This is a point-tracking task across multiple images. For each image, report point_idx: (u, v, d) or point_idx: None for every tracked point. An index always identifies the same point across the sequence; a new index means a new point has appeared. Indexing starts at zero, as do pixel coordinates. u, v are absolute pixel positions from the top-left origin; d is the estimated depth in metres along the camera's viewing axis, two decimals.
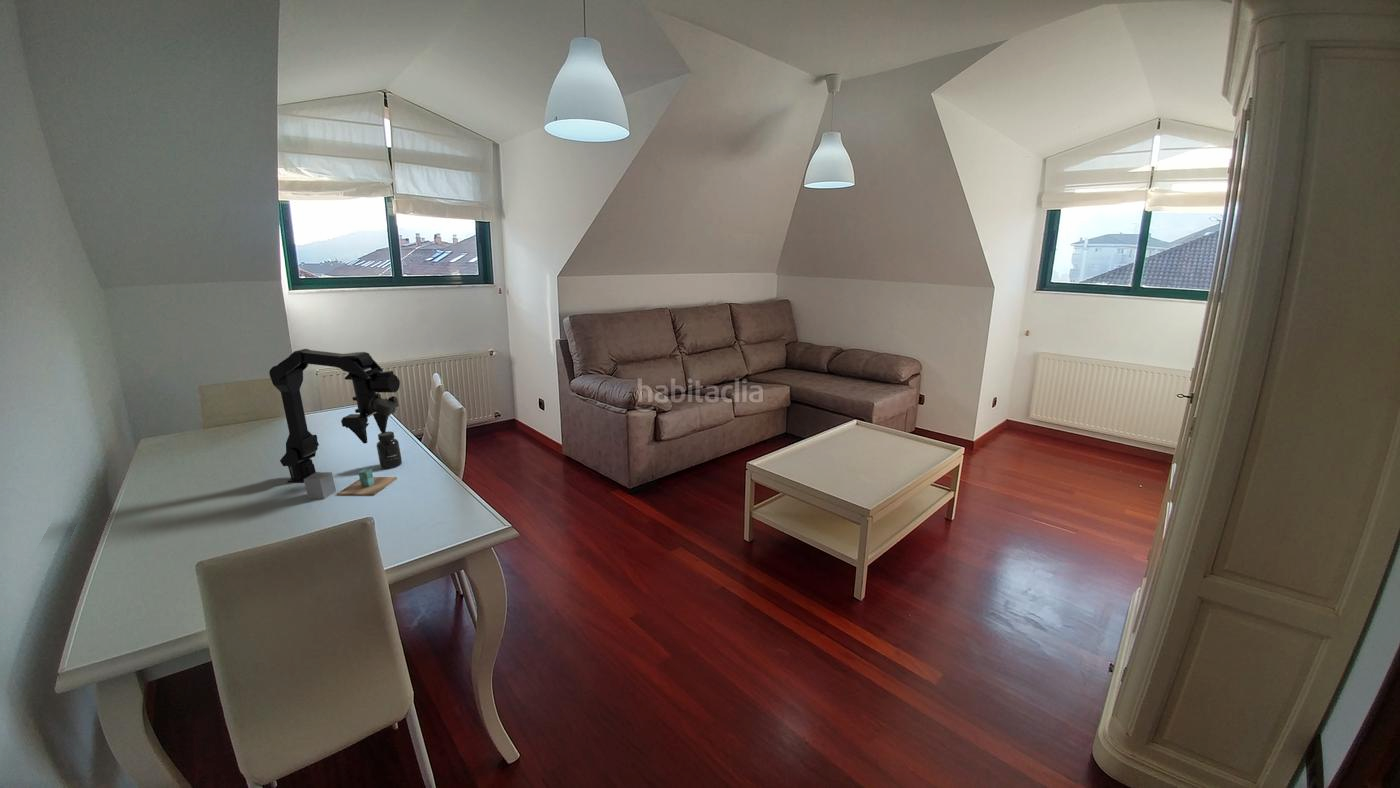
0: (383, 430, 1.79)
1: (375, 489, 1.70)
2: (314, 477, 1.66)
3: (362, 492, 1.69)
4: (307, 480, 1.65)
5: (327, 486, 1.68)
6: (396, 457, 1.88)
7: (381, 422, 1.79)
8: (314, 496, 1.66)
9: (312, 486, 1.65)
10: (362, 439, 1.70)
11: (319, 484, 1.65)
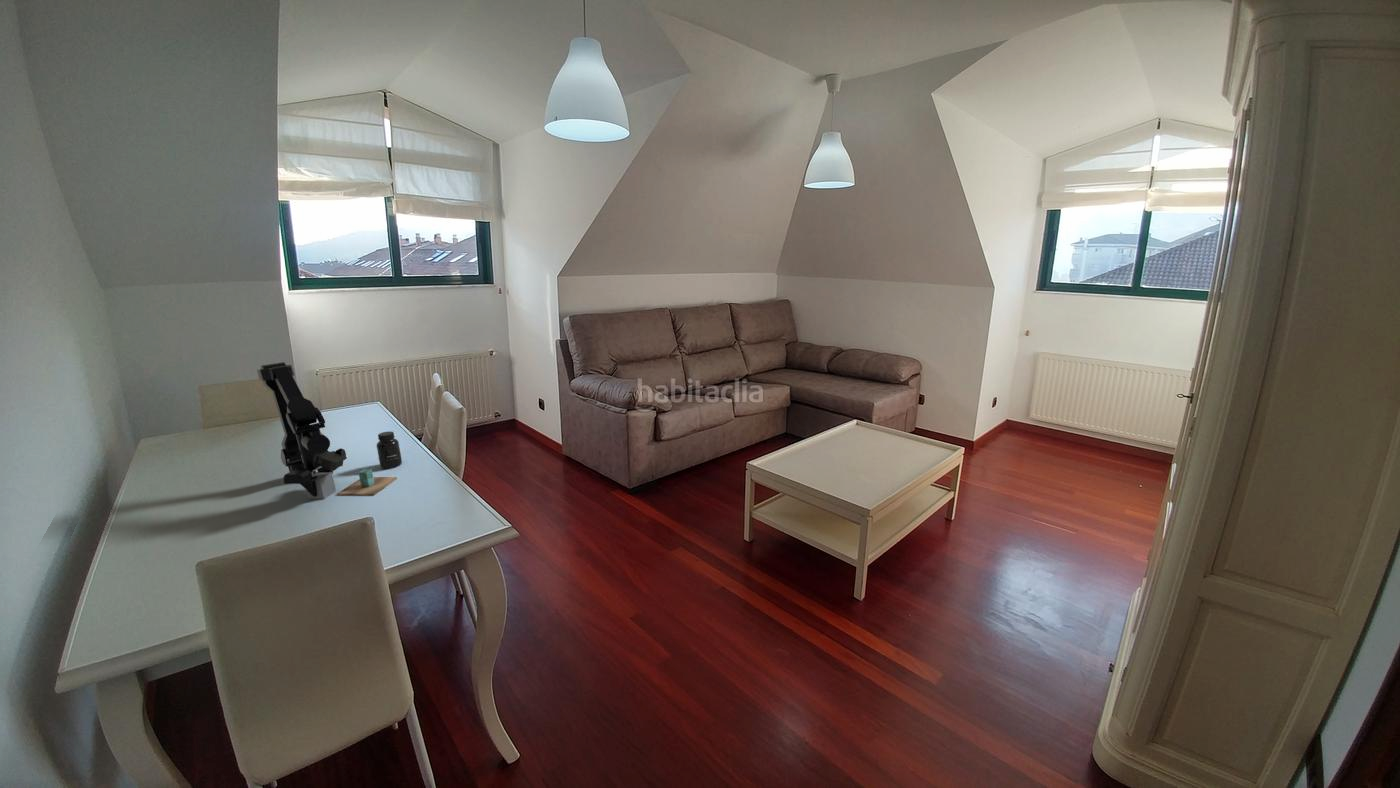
0: None
1: (375, 489, 1.70)
2: None
3: (362, 492, 1.69)
4: None
5: (327, 486, 1.68)
6: (396, 457, 1.88)
7: None
8: (314, 496, 1.66)
9: None
10: (311, 492, 1.65)
11: (319, 484, 1.65)
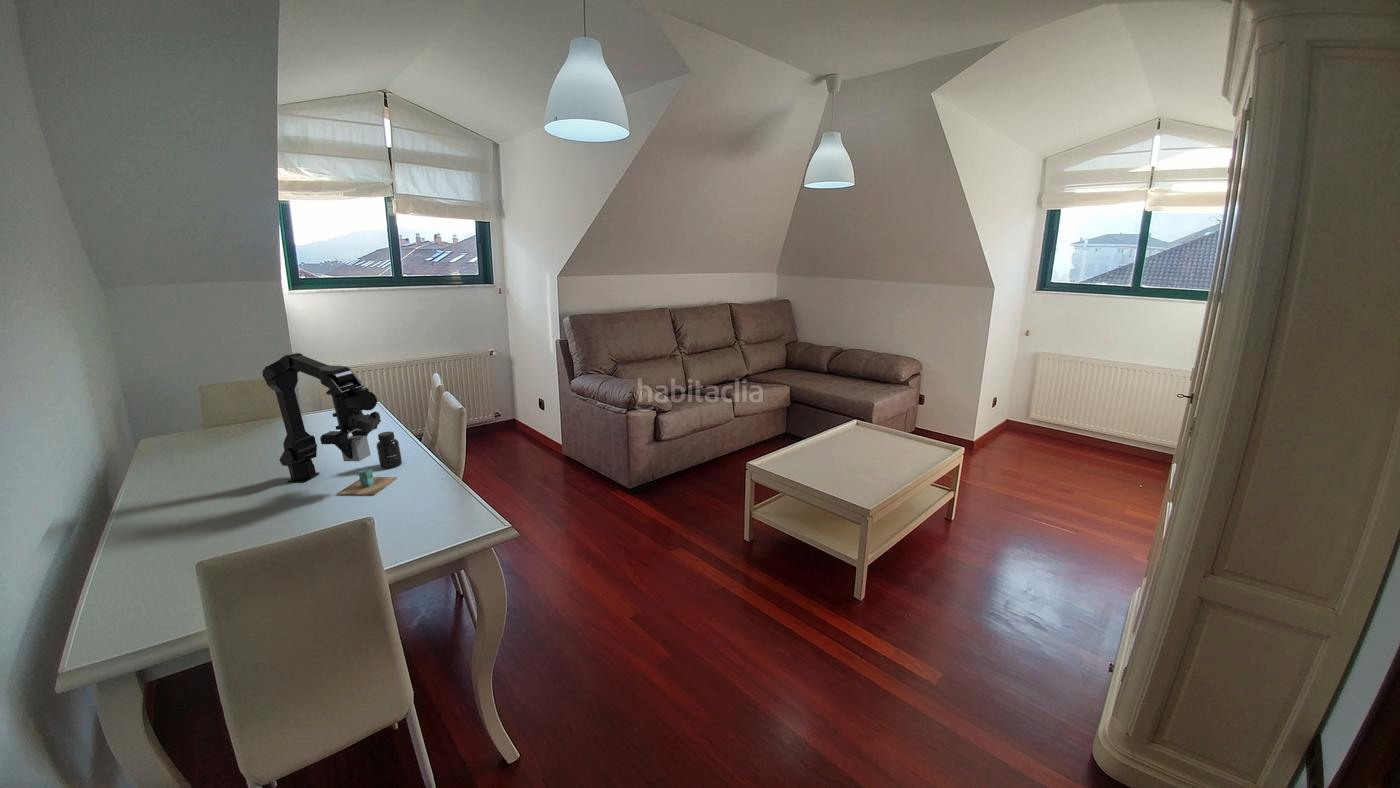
0: None
1: (375, 489, 1.70)
2: None
3: (362, 492, 1.69)
4: None
5: (362, 449, 1.69)
6: (396, 457, 1.88)
7: None
8: (349, 459, 1.68)
9: None
10: (347, 454, 1.66)
11: (354, 446, 1.66)
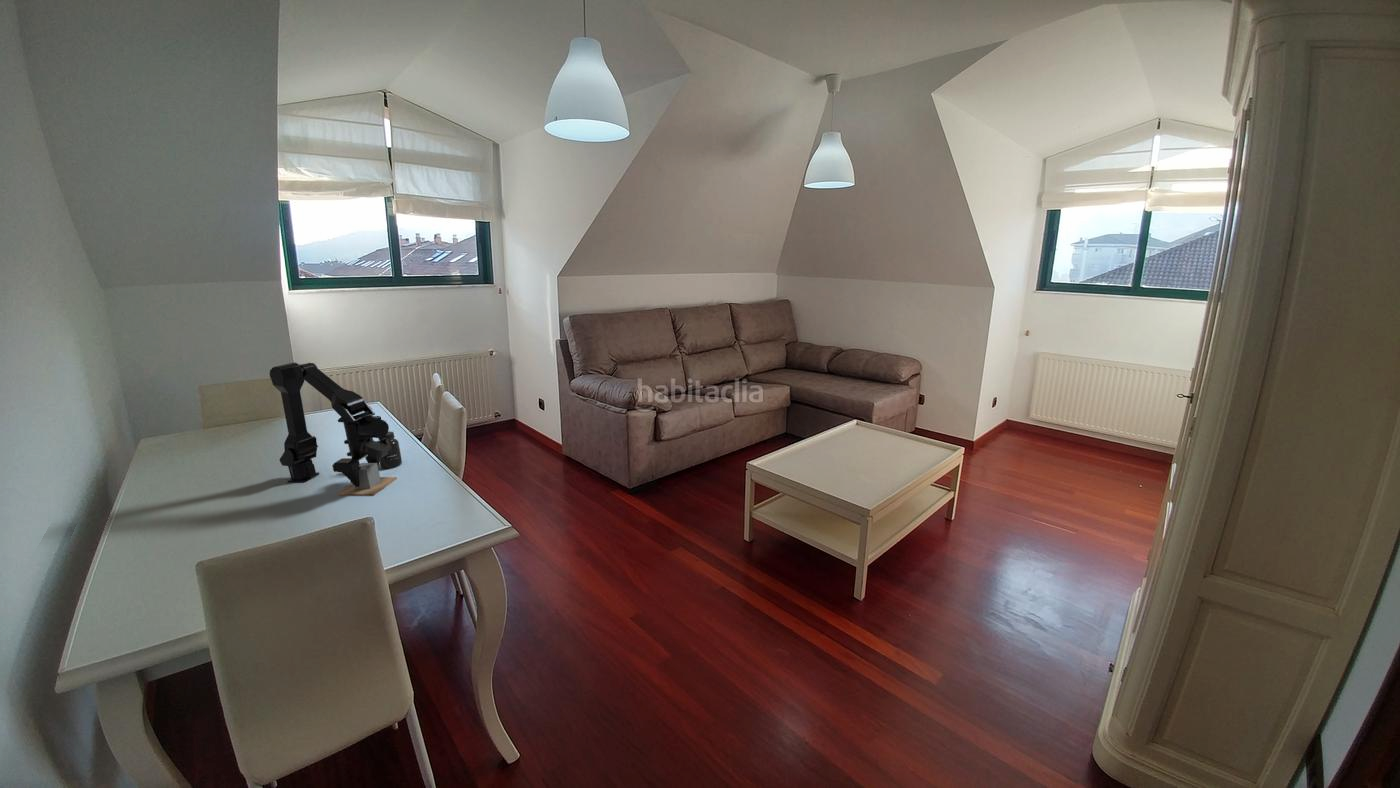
0: None
1: (375, 489, 1.70)
2: None
3: (362, 492, 1.69)
4: None
5: (373, 476, 1.73)
6: (396, 457, 1.88)
7: None
8: (360, 486, 1.71)
9: (359, 476, 1.70)
10: (354, 482, 1.68)
11: (365, 474, 1.70)
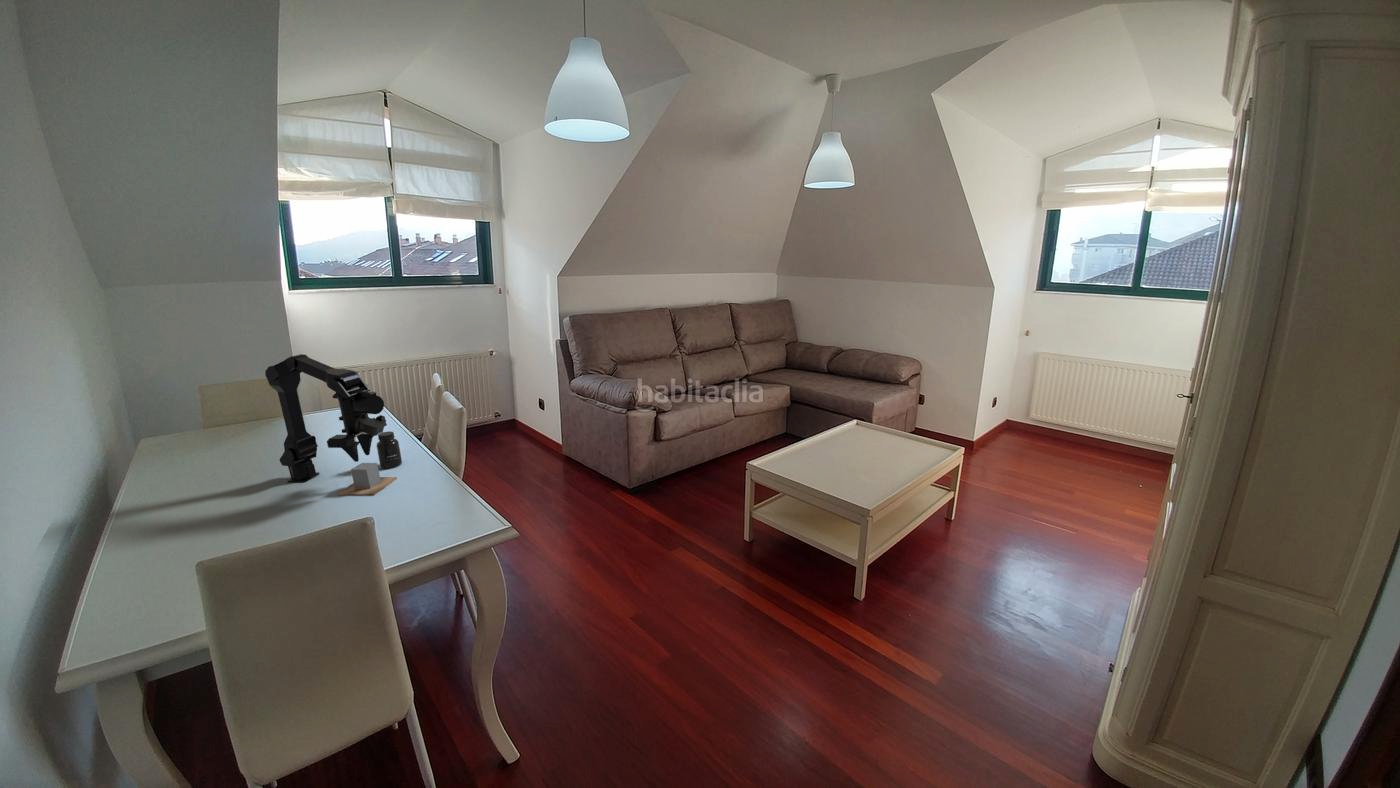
0: (367, 452, 1.73)
1: (375, 489, 1.70)
2: (360, 468, 1.71)
3: (362, 492, 1.69)
4: (354, 470, 1.70)
5: (373, 476, 1.73)
6: (396, 457, 1.88)
7: (365, 444, 1.73)
8: (360, 486, 1.71)
9: (359, 476, 1.70)
10: (353, 457, 1.68)
11: (365, 474, 1.70)
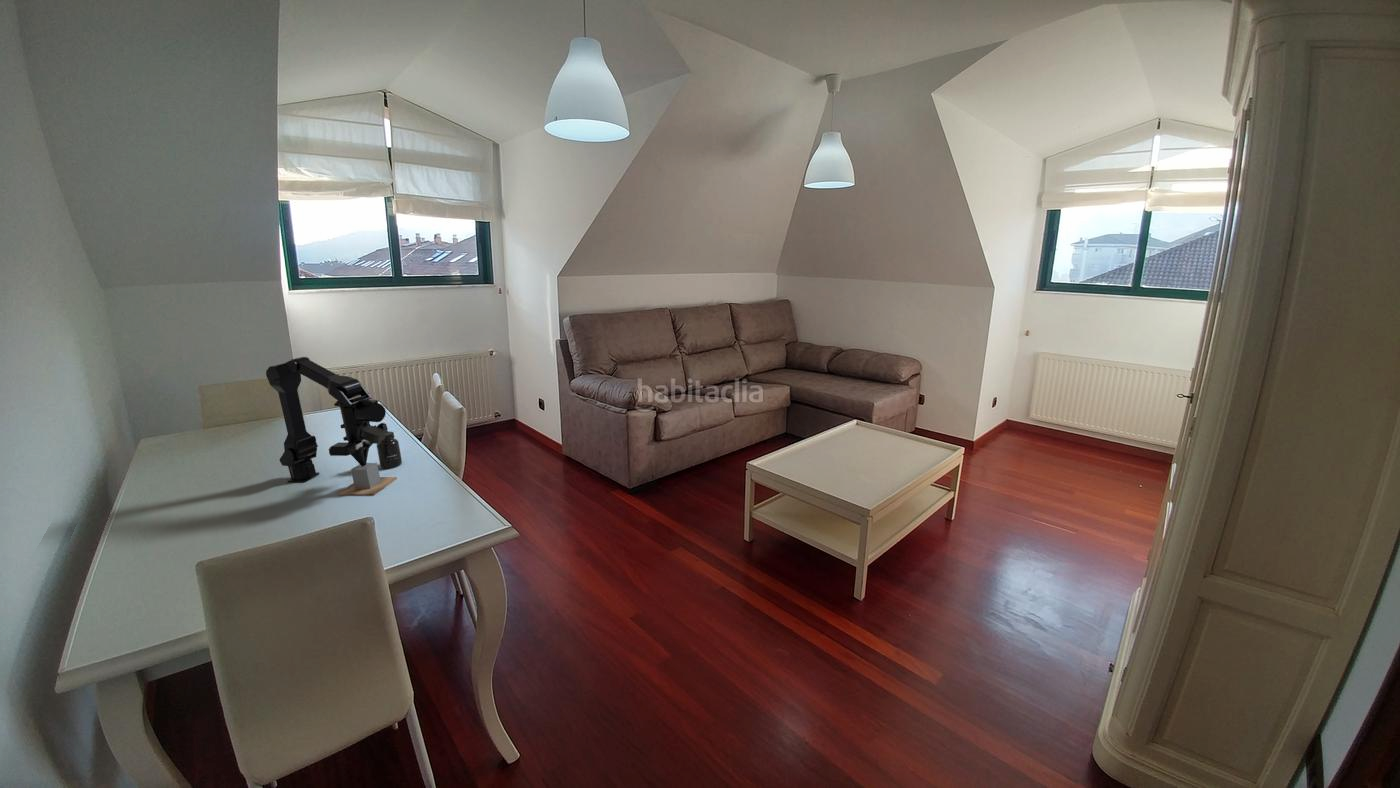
0: None
1: (375, 489, 1.70)
2: (360, 468, 1.71)
3: (362, 492, 1.69)
4: (354, 470, 1.70)
5: (373, 476, 1.73)
6: (396, 457, 1.88)
7: None
8: (360, 486, 1.71)
9: (359, 476, 1.70)
10: (360, 462, 1.71)
11: (365, 474, 1.70)
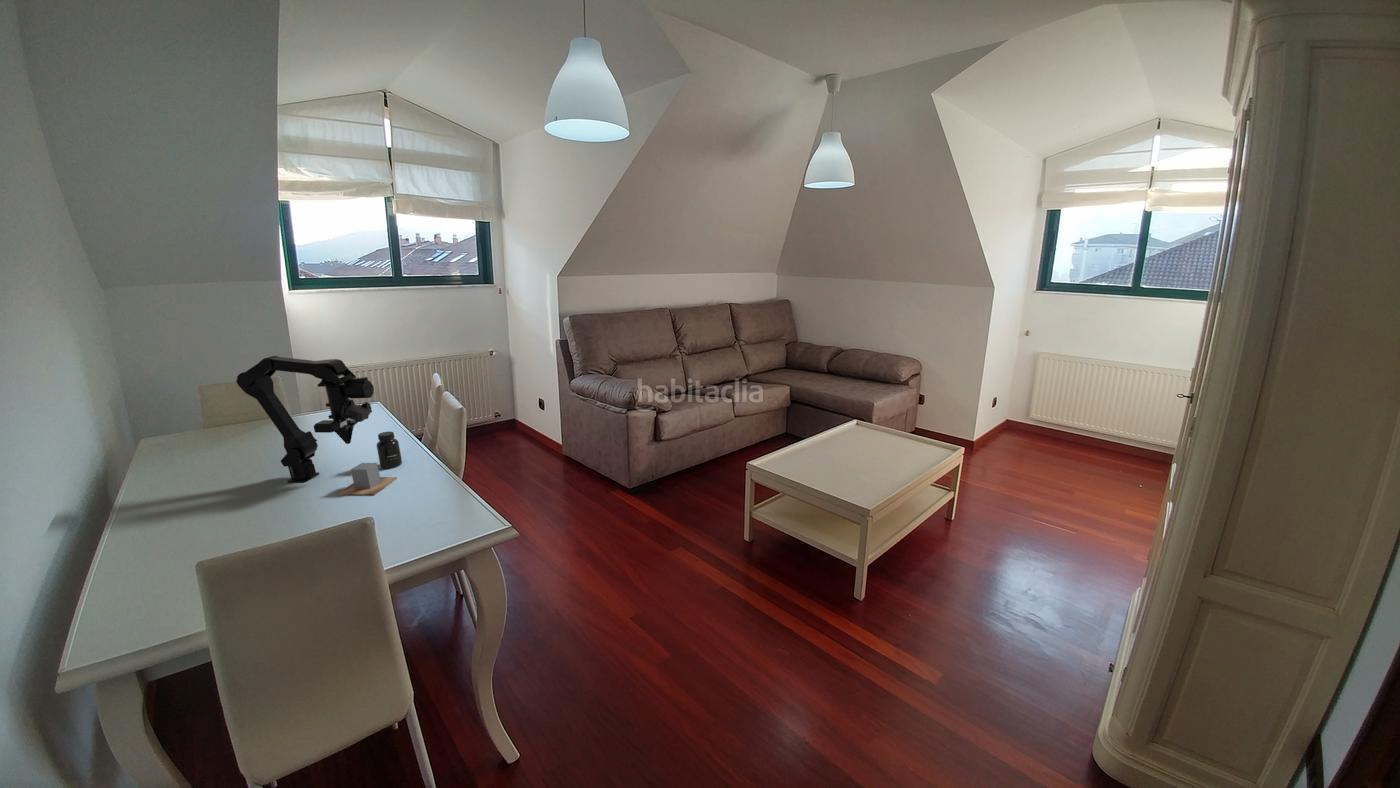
0: None
1: (375, 489, 1.70)
2: (360, 468, 1.71)
3: (362, 492, 1.69)
4: (354, 470, 1.70)
5: (373, 476, 1.73)
6: (396, 457, 1.88)
7: None
8: (360, 486, 1.71)
9: (359, 476, 1.70)
10: (344, 440, 1.78)
11: (365, 474, 1.70)
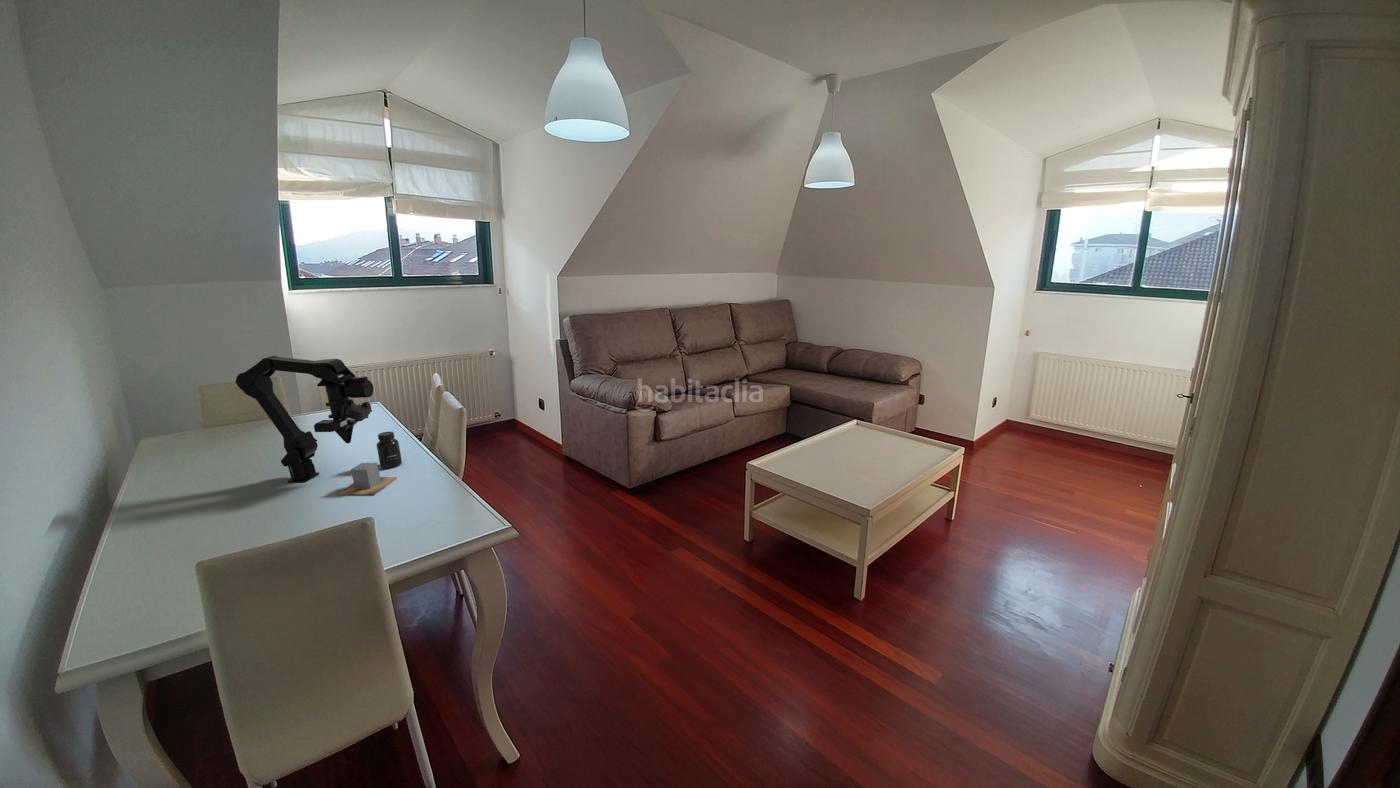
0: None
1: (375, 489, 1.70)
2: (360, 468, 1.71)
3: (362, 492, 1.69)
4: (354, 470, 1.70)
5: (373, 476, 1.73)
6: (396, 457, 1.88)
7: None
8: (360, 486, 1.71)
9: (359, 476, 1.70)
10: (345, 439, 1.78)
11: (365, 474, 1.70)
